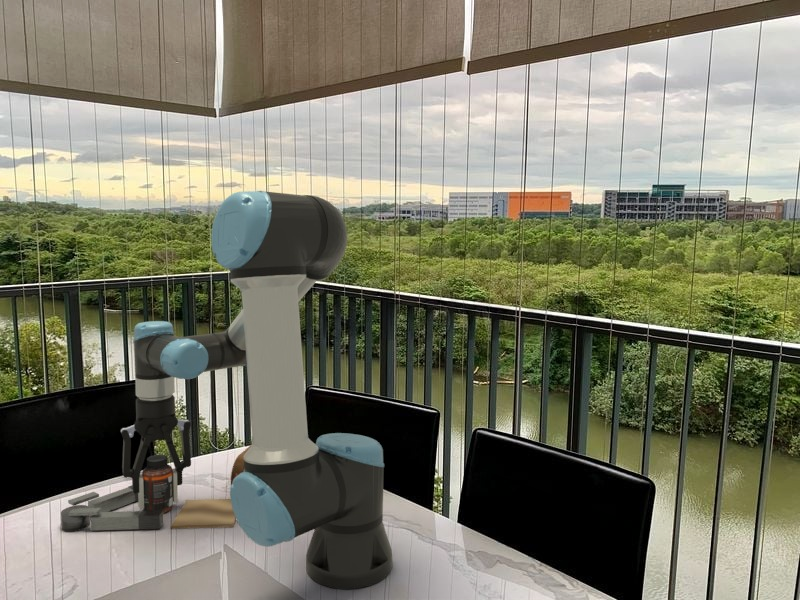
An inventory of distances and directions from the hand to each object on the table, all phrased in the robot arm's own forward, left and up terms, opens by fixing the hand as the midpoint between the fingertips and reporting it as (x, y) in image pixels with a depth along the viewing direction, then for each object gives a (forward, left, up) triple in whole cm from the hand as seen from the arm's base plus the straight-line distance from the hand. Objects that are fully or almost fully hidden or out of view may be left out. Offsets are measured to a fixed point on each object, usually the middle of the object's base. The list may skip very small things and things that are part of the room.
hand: (158, 503), depth 128 cm
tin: (+12, -17, -2) cm, 21 cm away
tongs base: (-7, +7, -1) cm, 10 cm away
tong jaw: (+1, +10, -1) cm, 10 cm away
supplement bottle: (0, 0, -2) cm, 2 cm away
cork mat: (-3, -11, -1) cm, 12 cm away
